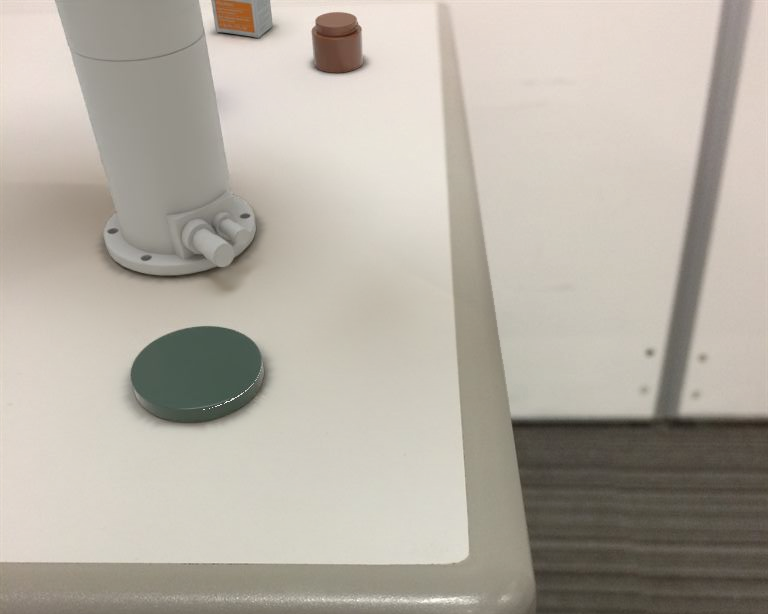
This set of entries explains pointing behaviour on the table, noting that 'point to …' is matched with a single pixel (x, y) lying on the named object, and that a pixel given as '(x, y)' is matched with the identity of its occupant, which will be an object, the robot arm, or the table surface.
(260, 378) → the coaster
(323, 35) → the jar
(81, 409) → the table surface
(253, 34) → the cosmetic box
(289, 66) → the table surface
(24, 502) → the table surface
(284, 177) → the table surface
